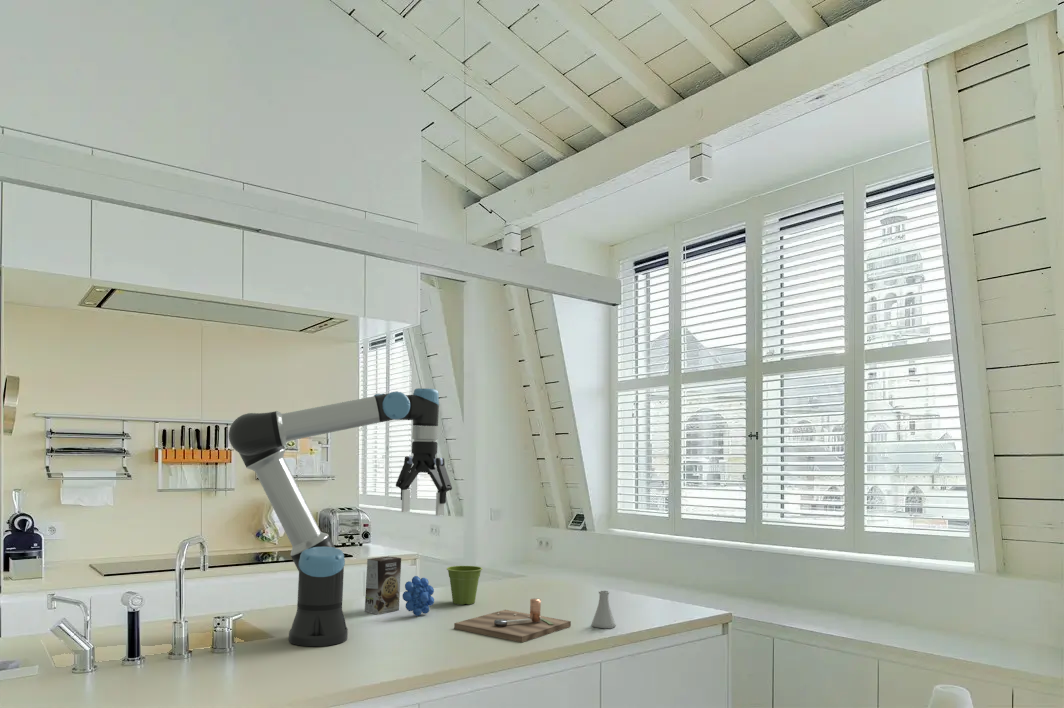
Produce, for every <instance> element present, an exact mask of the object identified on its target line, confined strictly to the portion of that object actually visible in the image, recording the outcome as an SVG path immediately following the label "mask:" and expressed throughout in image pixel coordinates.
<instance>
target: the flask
mask: <svg viewBox="0 0 1064 708" xmlns="http://www.w3.org/2000/svg"><path fill="white" fill-rule="evenodd" d="M598 594H599V599H598V605H597V608H596V611H595V613H594V616H593V619H592V621H591V626H592V627H594V628H599V629H613V628H615V627H616V622H615V618H614V616H613V613H612V609H611V606H610V599H609V595H610V591H609V590H598Z"/></svg>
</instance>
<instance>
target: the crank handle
mask: <svg viewBox="0 0 1064 708" xmlns="http://www.w3.org/2000/svg"><path fill="white" fill-rule="evenodd" d="M529 600H530V601H529V606H530V607H529V614H530V618H529V619H519V620H508V621H507V620H503V619H498V620H494V625H496V626H505V625H507V624H514V623H525V622H540V621H542V618H540V616H541V606H542V604H541V603H542V599H540V598H535V597H534V598H530V599H529Z"/></svg>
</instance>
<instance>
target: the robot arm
mask: <svg viewBox="0 0 1064 708" xmlns="http://www.w3.org/2000/svg"><path fill="white" fill-rule="evenodd" d="M439 399H440V397H439V391H438V389H436V388H427V387H426V388H415V389H414V390H413V393H412V394H404V392H402V391H391V392H389V393H376V394H374V395H372V396H369V397H364V398H358V399H352V400H348V401H342V402H336V403H332V404H326V405H321V406H317V407H312V408H310V407H309V408H305V409H302V410H301V409H299V410H295V411H290V412H284V413H282V412H280V411H277V410H276V411H269V412H261V413H259V412H258V413H256V412H248V413H244V414H242V415H240V416H238V417H237V418H235V419H234V421H233V422H232V423H231V425H230V427H229V430H228V440H229V443H230V445H231V447H232V448H233V450H235V451H236V452H237V453H238V454H239V456H240V458H241V460H242V462H243V464H244V465H245V467H246V469H248V470H252V471H254V473H255V474H256V477H257V479H258V481H259V482H260V484H261V487H262V488H263V491H264V493H265V495H266V497H267V499H268V501H269V503H270V504H271V506H272V508H273V511H274V513H275V514H276V516H277V518H278V520H279V522H280V524H281V527H282V529H283V530H284V533H285V534H286V536H287V539H288V540H289V542H290V545H291V546H292V547H291V548H292V549H291V551H290V557H291V559H292V561H293V563H294V565H295V567H296V570H297V571H298V582H297V583H298V584H297V603H296V604H297V605H296V606H297V607H296V613H295V616H294V618H293V622H292V625H291V628H290V629H289V631H288V642H289V643H290V644H292V645H296V646H303V647H325V646H333V645H334V646H335V645H337V644H341V643H343V642H346V641H347V640H348V636H349V635H348V633H349V632H348V627H347V623H346V618H345V615H344V612H343V596H344V595H343V592H344V591H343V590H344V574H345V572H344V570H345V569H344V568H345V564H346V563H345V562H346V560H345V554H344V551H342V550H341V549H340V548H336V547H335V545H334V543H333V540H332V539H331V537H330V535H329V534H328V533H326V532H322V531H321V529H320V527H319V525H318V523H317V521H316V520H315V517H314V515H313V513H312V511H311V509H310V507H309V505H308V503H307V500H306V499H305V497H304V496H303V493H302V492H301V490H300V487H299V485H298V484H297V481H296V479H295V478H294V475H293V474H292V472H291V469H290V467H289V465H288V464H287V461H286V459H285V457H284V455H285V452H286V447H285V445H286V444H287V442H289V441H290V442H291V441H295V440H300V439H305V438H310V437H315V436H320V435H325V434H329V433H335V432H339V431H345V430H349V429H354V428H359V427H364V426H368V425H369V426H370V425H373V424H379V423H385V422H390V421H412V433H411V435H412V437H411V439H412V440H413V441H412V442H411V454H412V455H413V456H412V455H410V456H407V455H406V456H405V457H404V461H403V465H402V468H401V470H400V473H399V475H398V478H397V481H396V483H395V487H396V488H399V489H400V500H401V513H409V512H410V511H411V488H410V486H411V485H412V483H413V482H414V481H415V479H416V478H417V476H418V475H419V474H420V473H425V474H428V475H429V476H430V479H431V480H432V482H433V484H434V485H435V487H436V488H437V492H436V493H435V494H436V495H435V516H437V517H438V516H444V515H445V504H446V501H447V492H449V491H452V490H453V486H452V482H451V480H450V477H449V475H448V471H447V468H446V465H445V464H446V463H445V458H444V457H436V455H437V454H438V446H439V445H438V442H437V441H436V440H438V438H439V437H438V436H439V435H438V434H439V410H440V402H439V401H440V400H439Z"/></svg>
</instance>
